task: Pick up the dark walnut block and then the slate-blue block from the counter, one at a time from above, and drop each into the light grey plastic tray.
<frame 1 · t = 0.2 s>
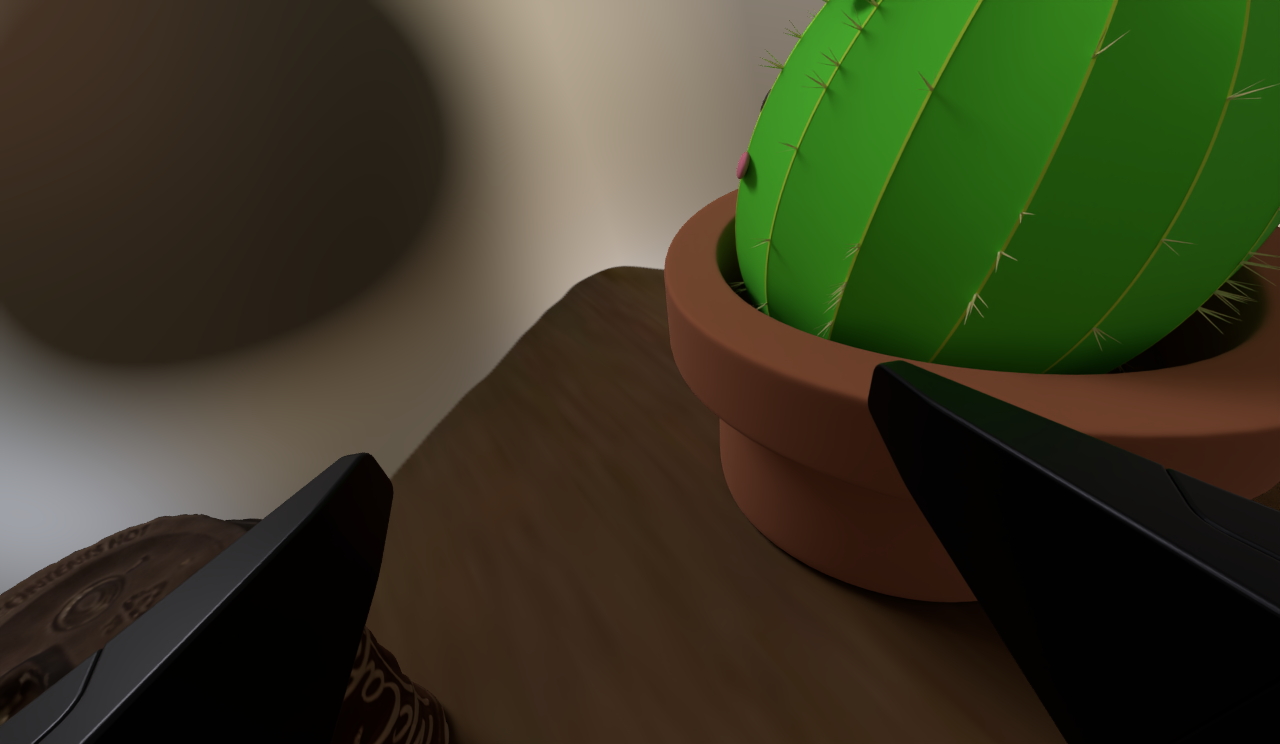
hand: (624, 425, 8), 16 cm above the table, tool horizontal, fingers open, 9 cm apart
potted cactus: (869, 459, 27), on the table
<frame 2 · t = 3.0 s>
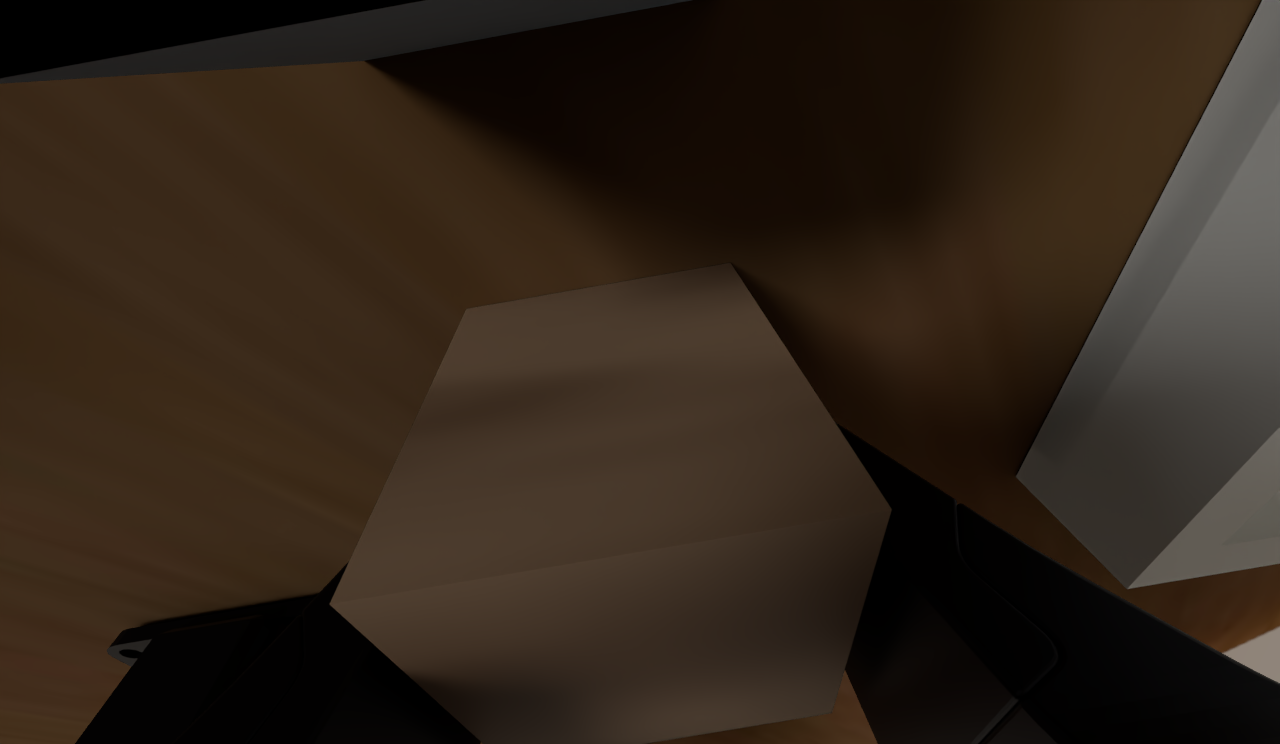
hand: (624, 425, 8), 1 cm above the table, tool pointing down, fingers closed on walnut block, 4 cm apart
walnut block: (620, 389, 9), on the table, touching gripper
when the fingers open (4 cm above the table, at t = 14.7 s): walnut block stays where it is, resting on tray.
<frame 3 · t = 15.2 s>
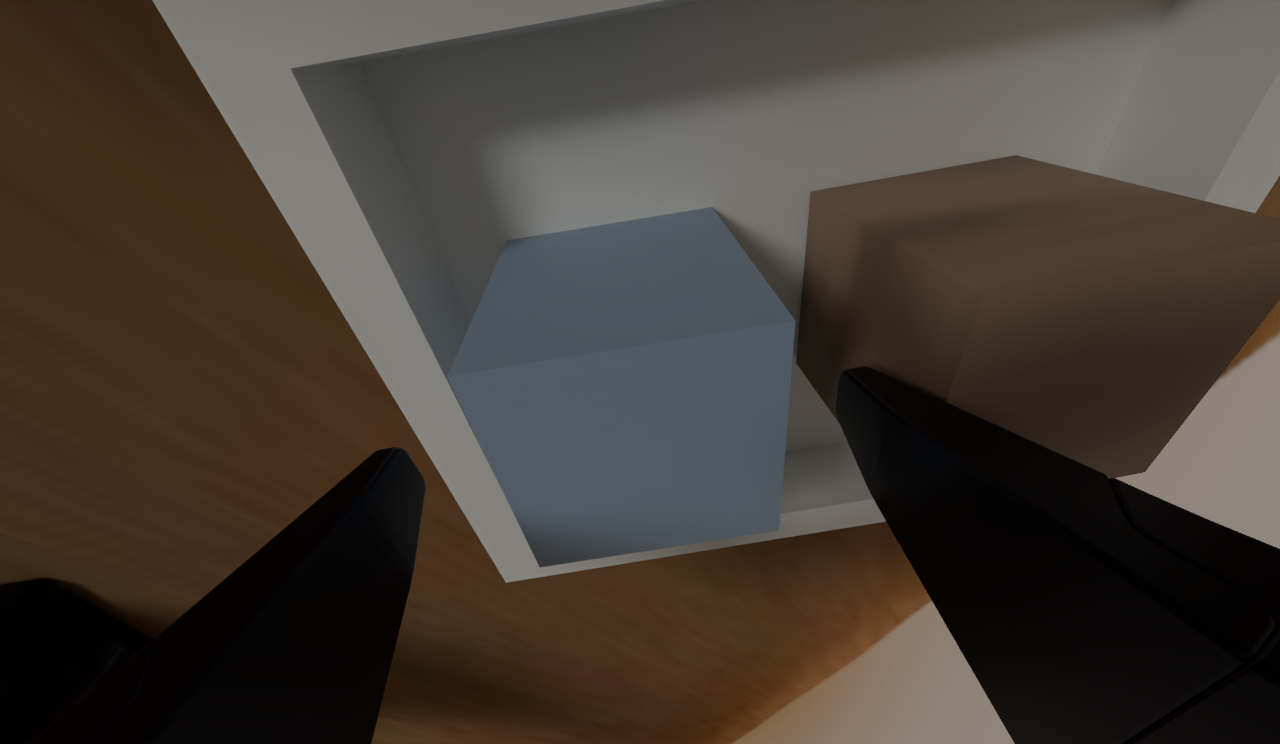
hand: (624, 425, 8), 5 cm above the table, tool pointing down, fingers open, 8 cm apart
tray: (759, 279, 12), on the table
slate block: (625, 314, 11), point 1 cm above the table, touching tray
walnut block: (893, 271, 11), point 1 cm above the table, touching gripper, tray
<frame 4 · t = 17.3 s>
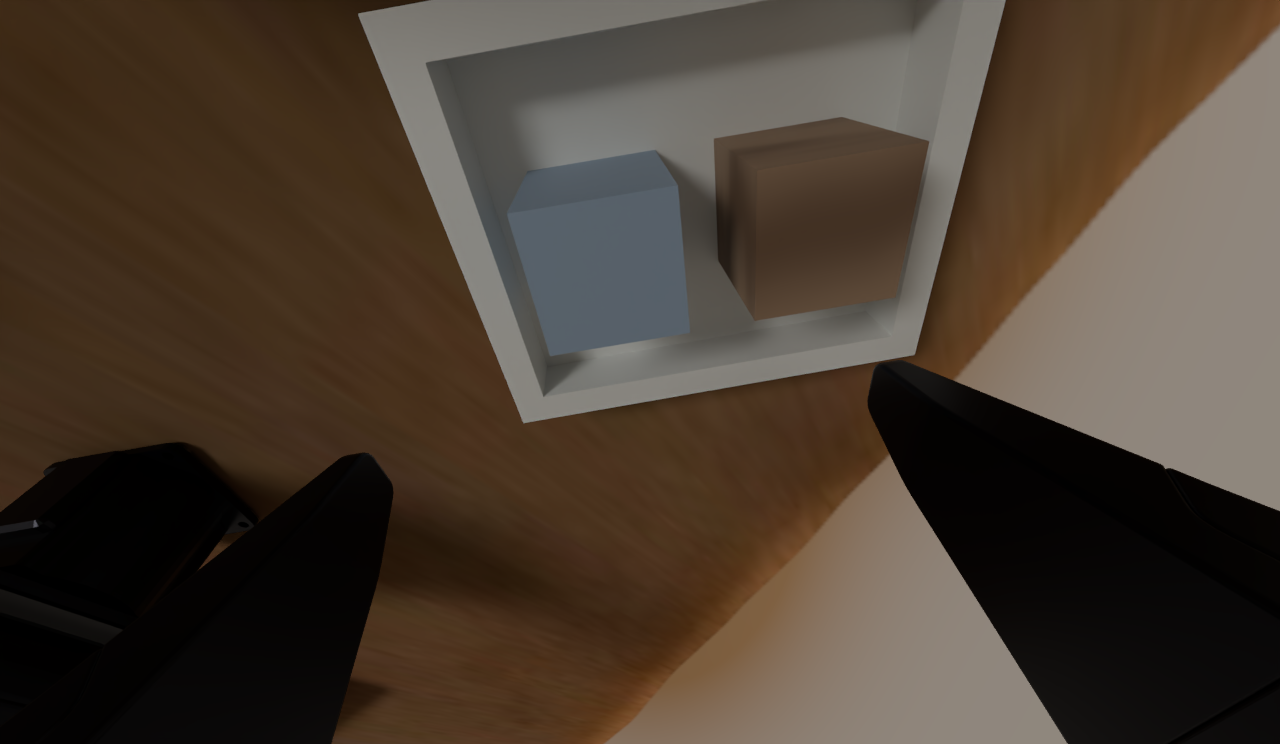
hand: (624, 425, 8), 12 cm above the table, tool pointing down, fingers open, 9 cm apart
tray: (692, 204, 18), on the table
slate block: (602, 224, 17), point 1 cm above the table, touching tray
walnut block: (775, 194, 17), point 1 cm above the table, touching tray
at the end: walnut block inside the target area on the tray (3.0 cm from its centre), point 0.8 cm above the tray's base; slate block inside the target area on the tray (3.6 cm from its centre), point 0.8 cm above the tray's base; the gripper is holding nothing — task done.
